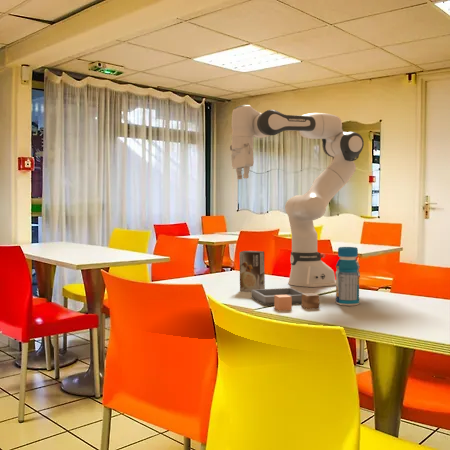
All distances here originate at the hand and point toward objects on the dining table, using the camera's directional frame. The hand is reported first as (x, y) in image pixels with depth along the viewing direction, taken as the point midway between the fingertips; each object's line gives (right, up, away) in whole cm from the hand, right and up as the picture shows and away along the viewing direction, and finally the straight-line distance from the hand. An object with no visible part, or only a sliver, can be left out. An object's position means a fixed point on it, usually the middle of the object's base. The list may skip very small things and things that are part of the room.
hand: (242, 178), depth 222 cm
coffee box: (+4, -46, -2) cm, 46 cm away
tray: (+12, -47, -24) cm, 54 cm away
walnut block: (+22, -47, -37) cm, 64 cm away
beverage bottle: (+36, -47, -31) cm, 67 cm away
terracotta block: (+12, -48, -39) cm, 63 cm away
